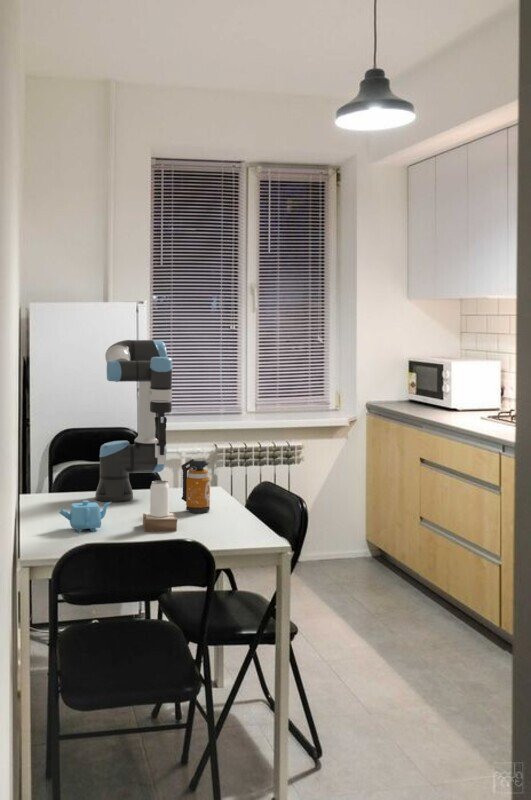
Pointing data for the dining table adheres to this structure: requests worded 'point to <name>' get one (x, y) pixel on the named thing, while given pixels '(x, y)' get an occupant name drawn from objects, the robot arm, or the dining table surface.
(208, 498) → the canister
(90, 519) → the teapot
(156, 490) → the can
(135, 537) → the dining table surface
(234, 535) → the dining table surface
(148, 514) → the podium
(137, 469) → the robot arm
